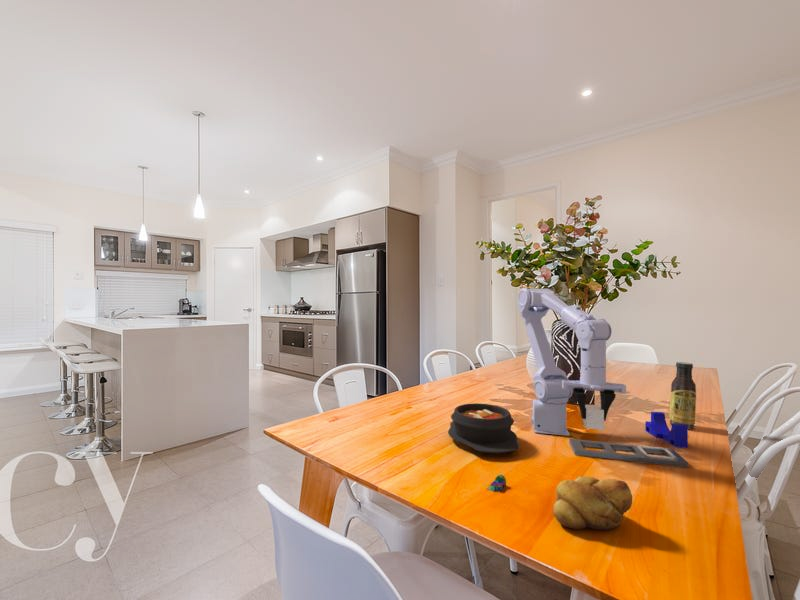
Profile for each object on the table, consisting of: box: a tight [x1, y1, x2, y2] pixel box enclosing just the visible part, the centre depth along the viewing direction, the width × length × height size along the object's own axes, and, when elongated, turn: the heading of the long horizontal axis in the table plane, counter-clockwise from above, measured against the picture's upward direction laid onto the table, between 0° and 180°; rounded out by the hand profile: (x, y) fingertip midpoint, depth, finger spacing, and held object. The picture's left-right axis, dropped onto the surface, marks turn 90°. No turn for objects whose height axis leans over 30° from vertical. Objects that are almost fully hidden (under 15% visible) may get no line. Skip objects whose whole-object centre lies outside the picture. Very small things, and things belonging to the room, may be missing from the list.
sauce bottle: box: [668, 361, 697, 430], centre depth 110 cm, size 6×6×20 cm
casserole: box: [447, 403, 520, 454], centre depth 99 cm, size 25×19×8 cm
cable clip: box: [644, 411, 689, 449], centre depth 100 cm, size 12×4×6 cm, turn 171°
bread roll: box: [552, 474, 633, 531], centre depth 63 cm, size 13×10×8 cm
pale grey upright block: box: [582, 404, 605, 431], centre depth 92 cm, size 4×4×5 cm
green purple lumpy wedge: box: [486, 474, 507, 493], centre depth 74 cm, size 4×3×2 cm, turn 141°
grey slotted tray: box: [568, 438, 689, 469], centre depth 90 cm, size 24×8×2 cm, turn 74°
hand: (593, 418), depth 92 cm, fingers closed on pale grey upright block, 4 cm apart
